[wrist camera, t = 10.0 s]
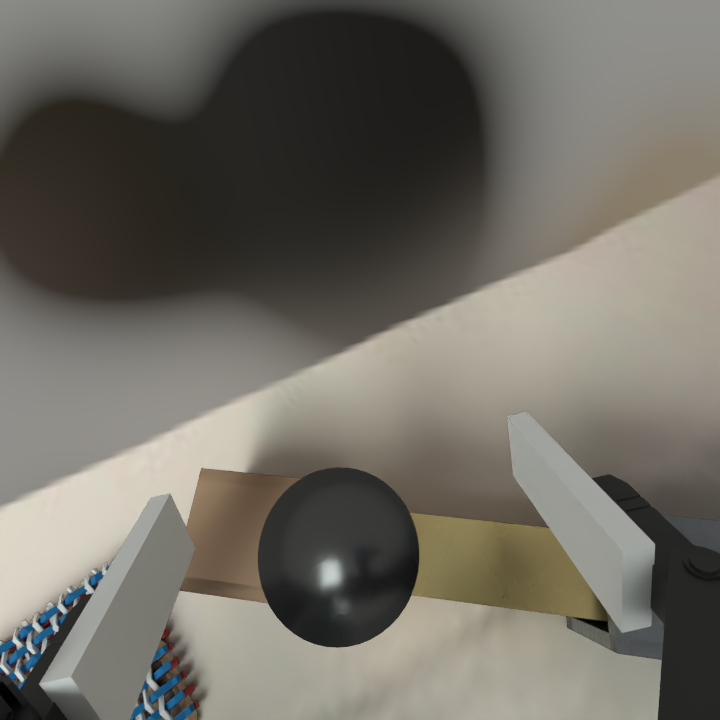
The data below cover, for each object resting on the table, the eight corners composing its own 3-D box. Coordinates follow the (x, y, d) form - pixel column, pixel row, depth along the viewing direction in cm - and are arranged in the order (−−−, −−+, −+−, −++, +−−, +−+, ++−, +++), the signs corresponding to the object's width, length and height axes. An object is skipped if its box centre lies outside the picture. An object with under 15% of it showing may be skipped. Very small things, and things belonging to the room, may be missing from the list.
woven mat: (-21, 662, 25) (-54, 671, 23) (137, 544, 27) (117, 544, 25) (33, 865, 21) (-2, 895, 19) (214, 711, 23) (197, 726, 21)
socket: (325, 492, 26) (305, 478, 21) (311, 592, 24) (285, 605, 19) (240, 483, 27) (201, 468, 22) (220, 579, 25) (170, 589, 20)
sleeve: (789, 540, 23) (904, 539, 18) (822, 663, 21) (964, 703, 16) (559, 516, 25) (601, 508, 19) (567, 627, 22) (617, 653, 17)
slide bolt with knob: (656, 540, 23) (1028, 533, 9) (669, 626, 21) (1143, 773, 8) (248, 495, 26) (74, 441, 12) (233, 568, 24) (15, 598, 11)
